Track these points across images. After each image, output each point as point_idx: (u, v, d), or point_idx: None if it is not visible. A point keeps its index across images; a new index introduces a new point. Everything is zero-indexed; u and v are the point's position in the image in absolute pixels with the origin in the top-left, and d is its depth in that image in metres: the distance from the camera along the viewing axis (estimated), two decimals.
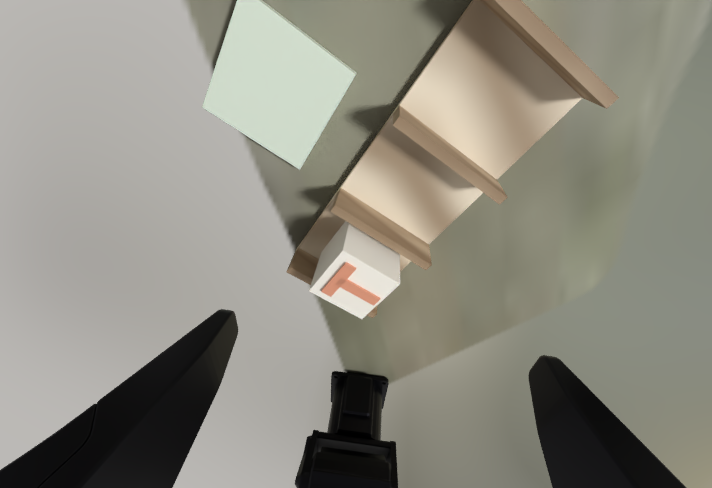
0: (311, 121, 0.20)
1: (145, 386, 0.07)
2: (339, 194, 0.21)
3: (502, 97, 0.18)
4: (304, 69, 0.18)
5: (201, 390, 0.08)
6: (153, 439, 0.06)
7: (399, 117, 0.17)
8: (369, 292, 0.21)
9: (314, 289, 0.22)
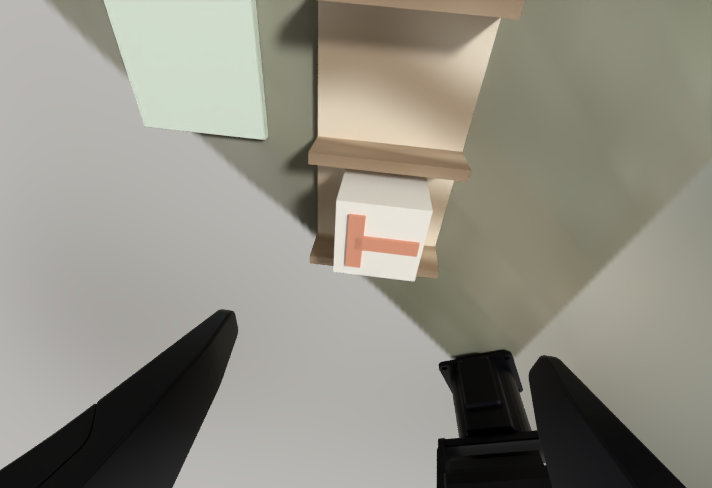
0: (241, 73, 0.16)
1: (145, 386, 0.07)
2: (315, 142, 0.17)
3: None
4: (198, 14, 0.15)
5: (201, 390, 0.08)
6: (153, 439, 0.06)
7: None
8: (401, 241, 0.16)
9: (337, 266, 0.17)
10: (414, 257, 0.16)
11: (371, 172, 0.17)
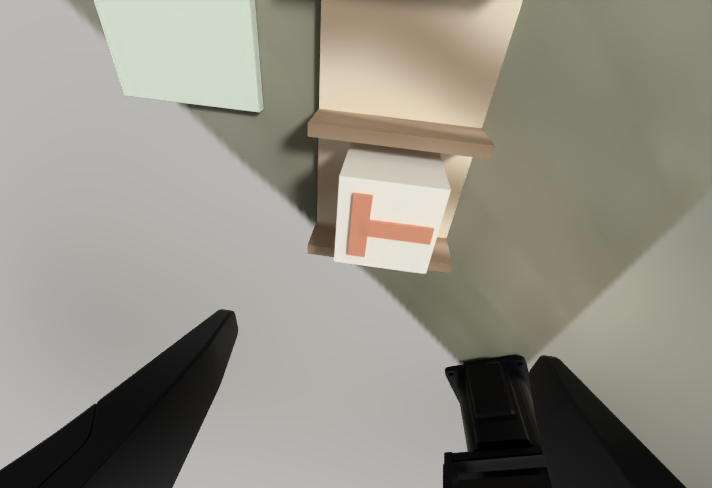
0: (233, 32, 0.14)
1: (145, 386, 0.07)
2: (316, 113, 0.15)
3: None
4: None
5: (201, 390, 0.08)
6: (153, 439, 0.06)
7: None
8: (413, 226, 0.14)
9: (339, 256, 0.15)
10: (427, 245, 0.14)
11: (379, 150, 0.15)
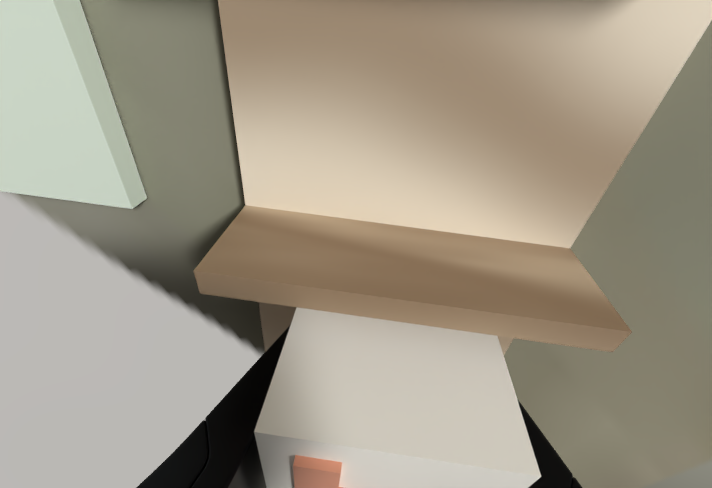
0: (36, 60, 0.06)
1: (247, 402, 0.07)
2: (231, 227, 0.07)
3: None
4: None
5: None
6: (257, 455, 0.06)
7: None
8: None
9: None
10: None
11: None
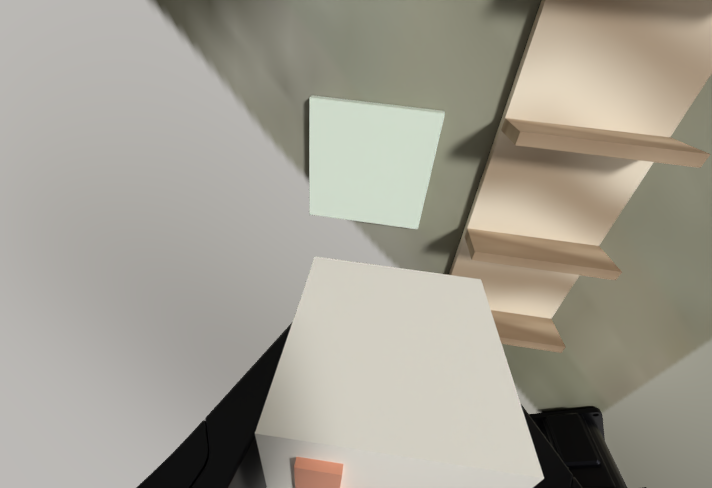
0: (414, 179, 0.18)
1: (247, 402, 0.07)
2: (471, 236, 0.19)
3: (640, 43, 0.14)
4: (390, 136, 0.17)
5: None
6: (257, 455, 0.06)
7: (520, 133, 0.14)
8: None
9: None
10: None
11: (365, 289, 0.08)
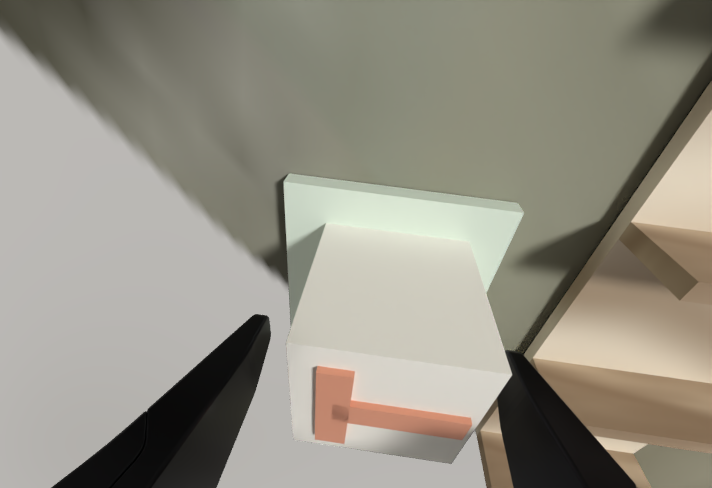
0: None
1: (192, 393, 0.07)
2: None
3: None
4: None
5: (241, 396, 0.08)
6: (201, 447, 0.06)
7: (697, 284, 0.07)
8: (432, 415, 0.07)
9: (301, 435, 0.09)
10: None
11: (370, 248, 0.09)
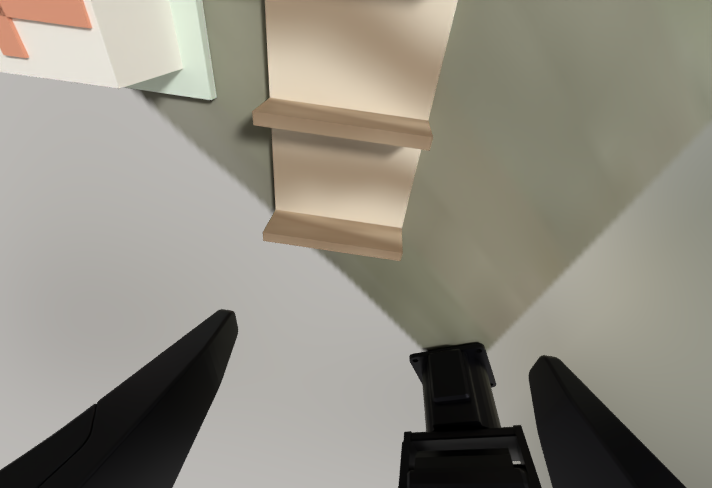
0: (180, 19, 0.14)
1: (145, 386, 0.07)
2: (264, 102, 0.15)
3: None
4: None
5: (201, 390, 0.08)
6: (153, 439, 0.06)
7: None
8: None
9: (1, 61, 0.12)
10: (91, 33, 0.11)
11: None
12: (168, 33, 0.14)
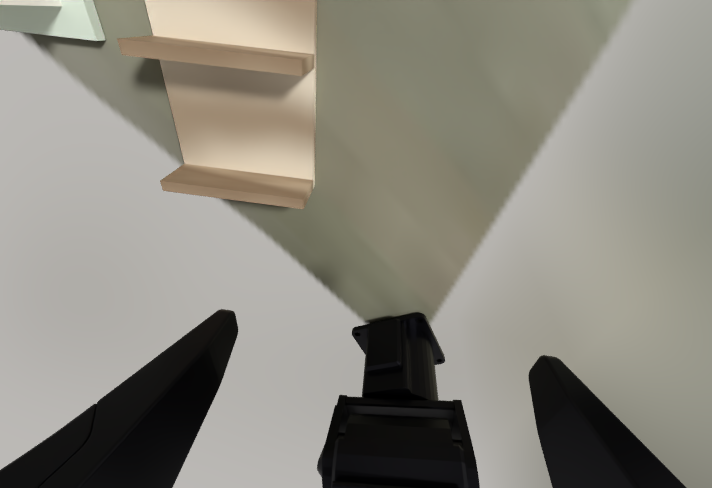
0: None
1: (145, 386, 0.07)
2: None
3: None
4: None
5: (201, 390, 0.08)
6: (153, 439, 0.06)
7: None
8: None
9: None
10: None
11: None
12: None
